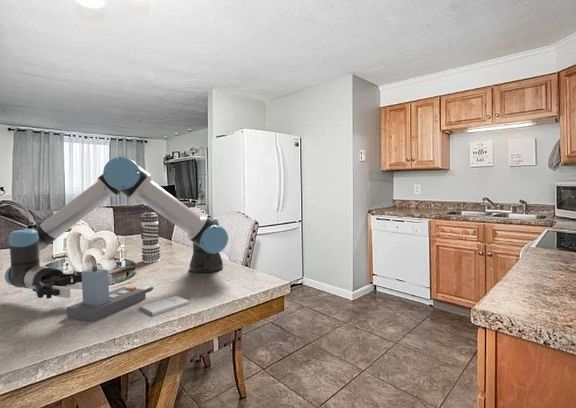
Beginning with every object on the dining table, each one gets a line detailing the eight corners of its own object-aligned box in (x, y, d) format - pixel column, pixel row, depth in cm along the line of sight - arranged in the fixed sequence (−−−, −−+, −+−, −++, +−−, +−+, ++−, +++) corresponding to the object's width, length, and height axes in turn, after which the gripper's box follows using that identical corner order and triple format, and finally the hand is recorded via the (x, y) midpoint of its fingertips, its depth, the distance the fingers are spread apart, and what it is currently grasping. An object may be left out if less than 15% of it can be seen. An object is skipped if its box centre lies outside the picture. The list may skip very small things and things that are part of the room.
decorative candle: (164, 259, 164) (163, 212, 162) (150, 263, 156) (148, 213, 154) (152, 258, 168) (150, 211, 166) (137, 262, 159) (135, 213, 158)
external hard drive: (139, 311, 98) (175, 299, 108) (152, 317, 93) (189, 305, 103) (139, 305, 98) (175, 294, 108) (152, 312, 93) (189, 300, 103)
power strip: (142, 287, 119) (142, 277, 119) (163, 290, 116) (163, 280, 115) (67, 317, 92) (66, 304, 92) (91, 322, 89) (91, 309, 89)
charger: (95, 302, 99) (93, 264, 98) (109, 304, 97) (107, 266, 96) (83, 307, 95) (81, 267, 94) (97, 309, 93) (95, 269, 92)
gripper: (82, 279, 115) (126, 285, 107) (0, 303, 91) (48, 313, 84) (81, 259, 114) (125, 264, 107) (-2, 278, 91) (46, 286, 83)
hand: (91, 285), depth 95 cm, fingers open, 13 cm apart
